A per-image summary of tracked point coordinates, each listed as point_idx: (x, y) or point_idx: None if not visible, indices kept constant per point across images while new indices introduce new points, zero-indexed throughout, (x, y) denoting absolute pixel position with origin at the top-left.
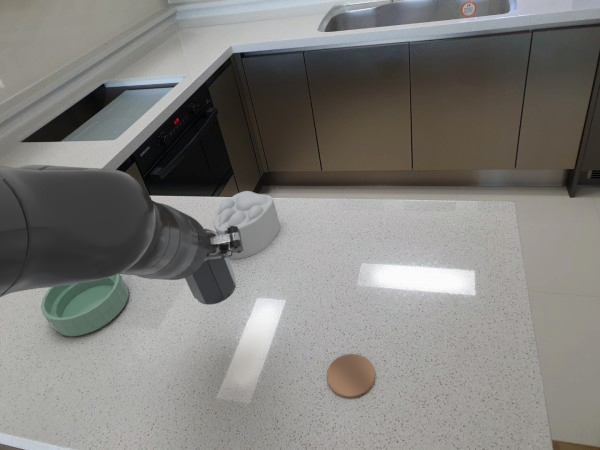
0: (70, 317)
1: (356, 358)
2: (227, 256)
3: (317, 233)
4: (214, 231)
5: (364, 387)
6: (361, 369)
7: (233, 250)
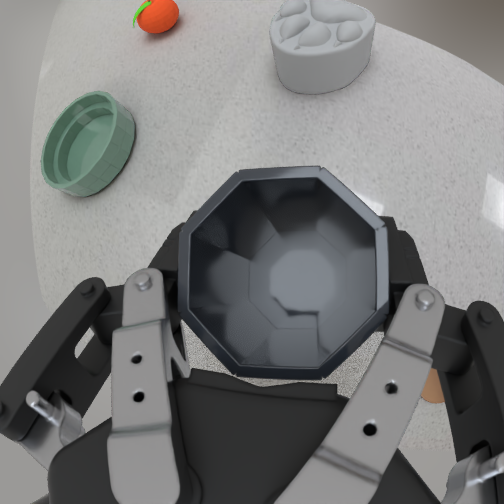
0: (63, 185)
1: None
2: None
3: (427, 88)
4: (368, 207)
5: None
6: None
7: (454, 434)
